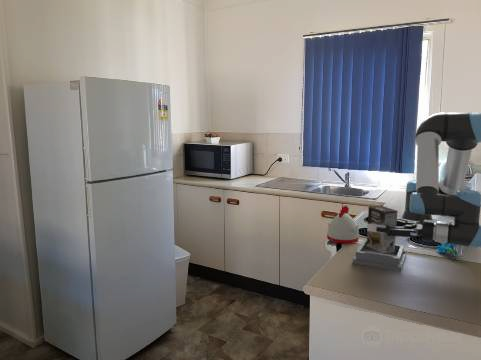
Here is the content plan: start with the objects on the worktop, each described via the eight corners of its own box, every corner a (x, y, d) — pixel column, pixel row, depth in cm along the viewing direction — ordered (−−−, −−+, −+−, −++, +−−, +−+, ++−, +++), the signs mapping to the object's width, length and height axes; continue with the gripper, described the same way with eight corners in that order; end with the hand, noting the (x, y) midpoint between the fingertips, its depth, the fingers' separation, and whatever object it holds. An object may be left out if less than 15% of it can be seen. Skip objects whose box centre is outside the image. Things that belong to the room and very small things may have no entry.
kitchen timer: (363, 237, 176) (365, 205, 174) (350, 245, 166) (351, 211, 164) (336, 231, 185) (337, 201, 183) (321, 239, 175) (322, 206, 173)
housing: (361, 249, 162) (362, 238, 161) (405, 256, 154) (406, 245, 153) (352, 263, 147) (353, 252, 146) (400, 271, 139) (401, 259, 138)
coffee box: (365, 246, 153) (367, 206, 150) (379, 244, 155) (381, 204, 152) (381, 254, 144) (384, 211, 141) (395, 251, 146) (398, 210, 144)
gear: (434, 243, 163) (454, 229, 158) (444, 253, 163) (465, 240, 158) (437, 256, 153) (459, 242, 148) (447, 267, 153) (470, 253, 148)
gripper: (432, 251, 130) (364, 241, 141) (434, 232, 150) (374, 225, 160) (433, 229, 129) (364, 221, 139) (436, 213, 149) (375, 207, 159)
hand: (370, 223), depth 150 cm, fingers closed on coffee box, 10 cm apart
